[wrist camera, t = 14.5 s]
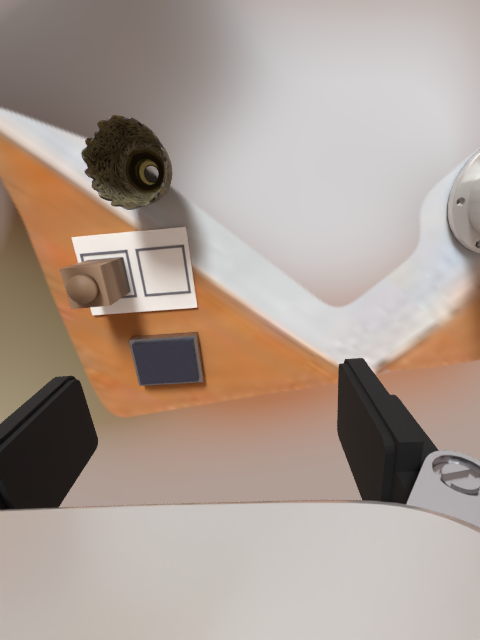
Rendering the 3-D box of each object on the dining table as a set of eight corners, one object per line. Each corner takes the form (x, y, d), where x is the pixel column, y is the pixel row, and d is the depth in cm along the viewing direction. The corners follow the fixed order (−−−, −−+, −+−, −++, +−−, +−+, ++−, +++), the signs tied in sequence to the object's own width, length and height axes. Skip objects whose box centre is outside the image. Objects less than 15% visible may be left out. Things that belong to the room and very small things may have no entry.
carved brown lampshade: (151, 119, 32) (121, 93, 25) (198, 177, 34) (183, 169, 27) (105, 169, 34) (64, 158, 27) (152, 222, 36) (125, 226, 29)
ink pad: (197, 332, 41) (195, 337, 39) (204, 377, 43) (202, 384, 41) (132, 336, 41) (127, 341, 40) (142, 381, 44) (137, 388, 42)
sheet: (186, 226, 36) (185, 226, 36) (197, 306, 40) (197, 307, 39) (72, 237, 37) (71, 237, 37) (93, 314, 40) (92, 315, 40)
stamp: (123, 256, 37) (95, 267, 31) (130, 291, 39) (105, 308, 32) (88, 259, 38) (53, 270, 31) (97, 294, 39) (66, 311, 33)
